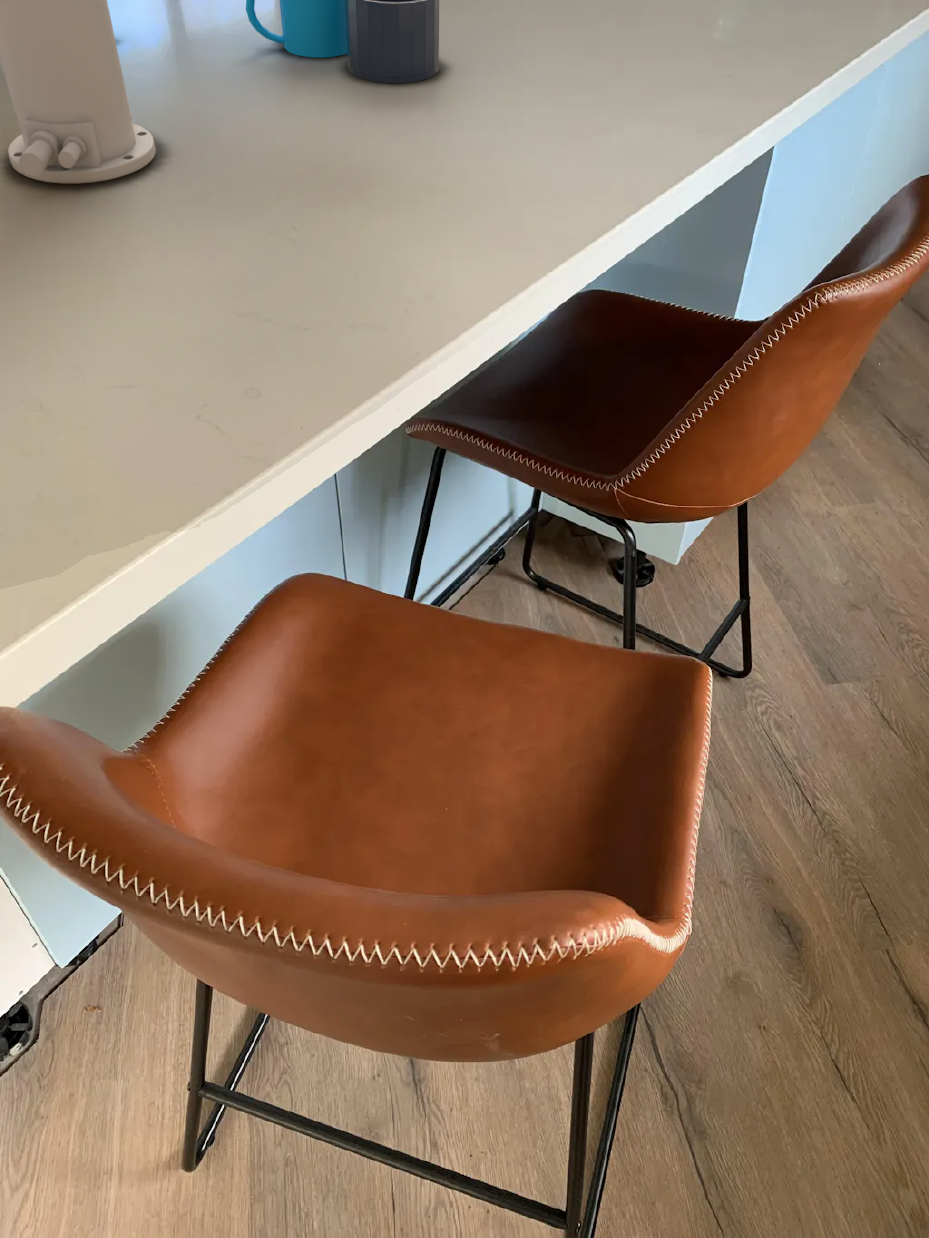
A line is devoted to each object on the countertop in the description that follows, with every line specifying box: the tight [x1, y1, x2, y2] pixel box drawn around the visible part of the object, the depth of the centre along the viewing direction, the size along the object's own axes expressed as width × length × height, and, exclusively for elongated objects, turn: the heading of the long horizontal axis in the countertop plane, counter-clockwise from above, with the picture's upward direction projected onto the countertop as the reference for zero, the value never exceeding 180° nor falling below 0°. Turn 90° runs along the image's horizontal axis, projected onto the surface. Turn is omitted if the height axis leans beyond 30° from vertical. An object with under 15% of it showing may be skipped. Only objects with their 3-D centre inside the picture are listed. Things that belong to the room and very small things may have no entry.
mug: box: [245, 0, 347, 58], centre depth 107 cm, size 12×8×8 cm
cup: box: [345, 0, 440, 84], centre depth 103 cm, size 10×10×8 cm
